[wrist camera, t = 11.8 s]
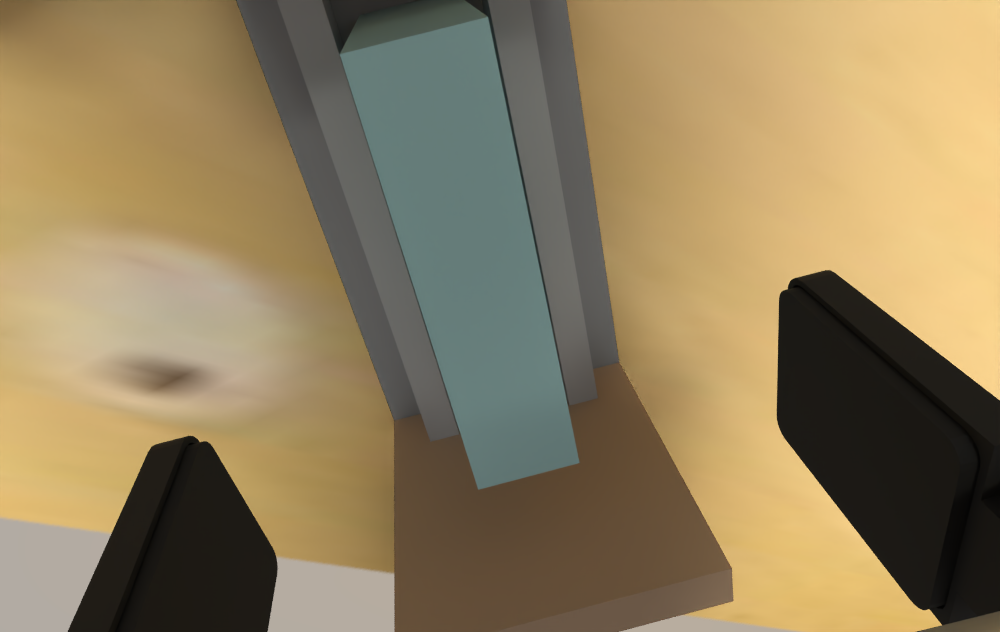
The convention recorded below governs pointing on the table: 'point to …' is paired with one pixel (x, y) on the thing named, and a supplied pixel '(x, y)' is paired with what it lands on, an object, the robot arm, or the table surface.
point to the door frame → (419, 383)
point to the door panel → (464, 228)
